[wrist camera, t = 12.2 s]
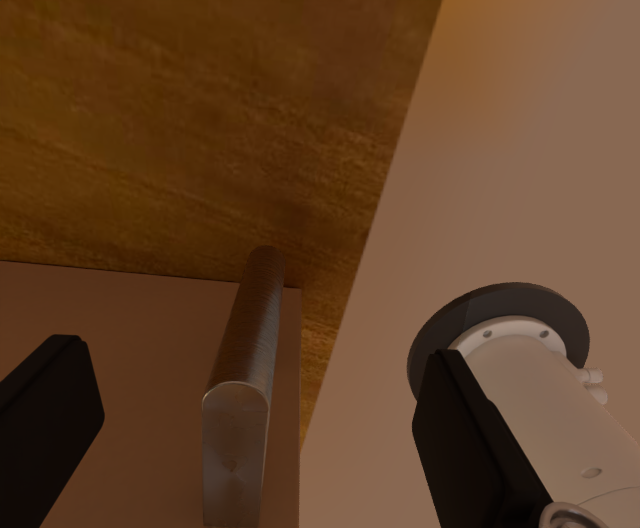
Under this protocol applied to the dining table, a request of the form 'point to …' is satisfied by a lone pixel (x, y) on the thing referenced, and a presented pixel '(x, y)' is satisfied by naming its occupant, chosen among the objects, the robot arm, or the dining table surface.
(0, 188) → the dining table surface
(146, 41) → the dining table surface
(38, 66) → the dining table surface
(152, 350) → the door
